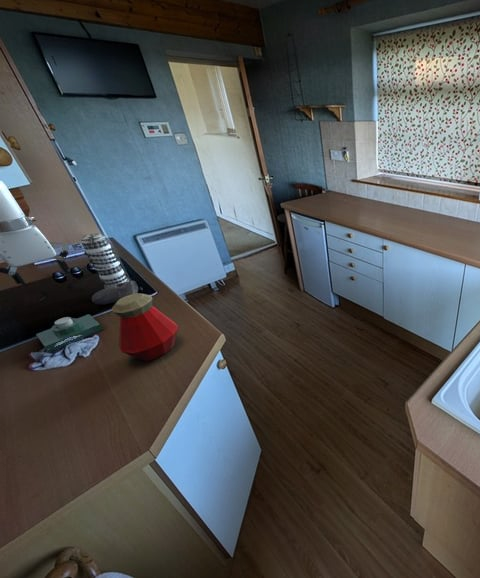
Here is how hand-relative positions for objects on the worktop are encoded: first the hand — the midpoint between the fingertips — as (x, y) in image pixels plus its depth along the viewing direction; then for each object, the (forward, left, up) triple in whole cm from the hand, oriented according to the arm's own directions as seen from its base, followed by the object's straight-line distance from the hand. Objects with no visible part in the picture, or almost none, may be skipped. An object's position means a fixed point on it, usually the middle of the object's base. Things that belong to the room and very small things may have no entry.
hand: (45, 278), depth 91 cm
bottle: (+25, -23, -22) cm, 40 cm away
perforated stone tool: (+6, +20, -22) cm, 31 cm away
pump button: (-3, 0, -18) cm, 18 cm away
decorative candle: (+4, +31, -22) cm, 39 cm away
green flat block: (-3, 0, -22) cm, 22 cm away
